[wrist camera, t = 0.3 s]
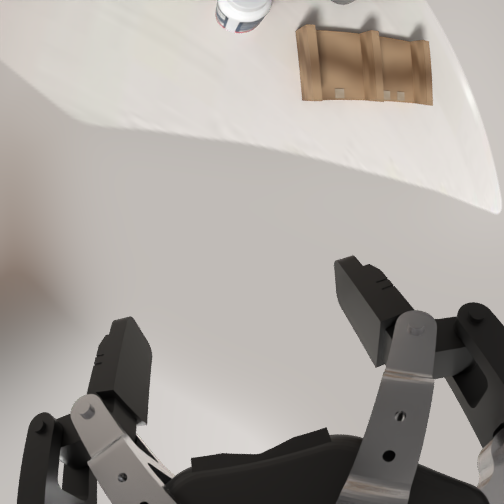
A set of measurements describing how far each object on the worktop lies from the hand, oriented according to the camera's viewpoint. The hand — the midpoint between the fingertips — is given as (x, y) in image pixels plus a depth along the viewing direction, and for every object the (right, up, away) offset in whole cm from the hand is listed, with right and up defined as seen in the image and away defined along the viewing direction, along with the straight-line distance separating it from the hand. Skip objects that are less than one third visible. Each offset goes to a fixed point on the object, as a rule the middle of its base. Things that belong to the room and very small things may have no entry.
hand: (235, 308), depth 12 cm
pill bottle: (-1, +29, +16) cm, 33 cm away
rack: (+14, +25, +20) cm, 36 cm away
